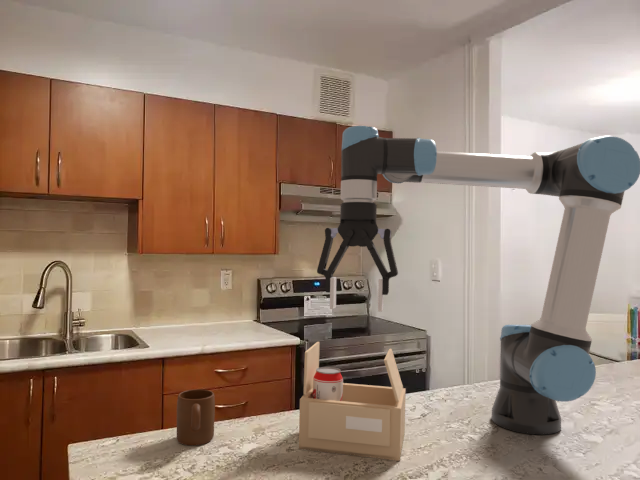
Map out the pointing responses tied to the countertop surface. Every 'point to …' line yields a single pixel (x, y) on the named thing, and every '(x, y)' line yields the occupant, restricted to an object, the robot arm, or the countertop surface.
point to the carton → (354, 422)
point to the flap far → (310, 366)
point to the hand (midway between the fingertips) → (356, 309)
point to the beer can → (328, 384)
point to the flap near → (393, 375)
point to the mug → (195, 417)
